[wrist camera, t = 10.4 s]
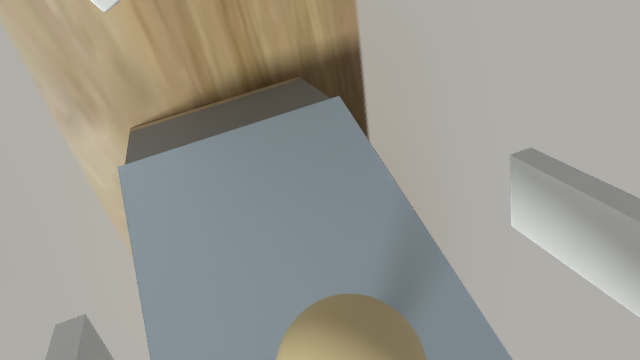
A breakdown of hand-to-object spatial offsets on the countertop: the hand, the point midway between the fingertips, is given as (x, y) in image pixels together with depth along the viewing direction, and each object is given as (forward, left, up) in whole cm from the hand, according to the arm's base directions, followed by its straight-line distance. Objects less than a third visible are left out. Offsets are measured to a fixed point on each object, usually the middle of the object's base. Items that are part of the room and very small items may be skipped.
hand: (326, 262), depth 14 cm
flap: (+6, +4, -11) cm, 13 cm away
